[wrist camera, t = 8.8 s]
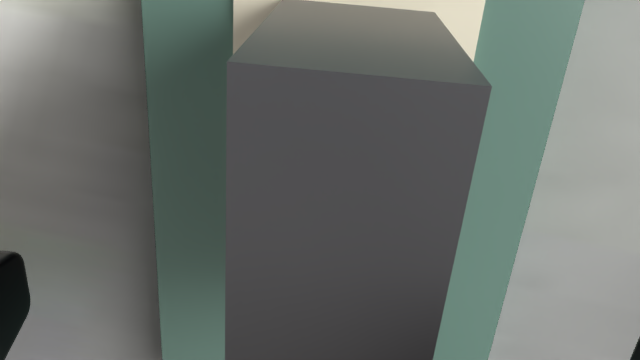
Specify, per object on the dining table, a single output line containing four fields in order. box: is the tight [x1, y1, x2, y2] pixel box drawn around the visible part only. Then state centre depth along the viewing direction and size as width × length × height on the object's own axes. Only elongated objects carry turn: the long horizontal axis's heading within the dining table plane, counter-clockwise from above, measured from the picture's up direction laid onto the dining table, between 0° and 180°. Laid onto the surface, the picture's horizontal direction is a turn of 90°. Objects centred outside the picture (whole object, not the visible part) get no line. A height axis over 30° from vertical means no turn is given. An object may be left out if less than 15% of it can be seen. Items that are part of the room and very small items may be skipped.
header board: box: [141, 0, 585, 360], centre depth 15 cm, size 18×10×2 cm, turn 176°
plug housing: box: [225, 0, 492, 360], centre depth 11 cm, size 7×3×6 cm, turn 175°
